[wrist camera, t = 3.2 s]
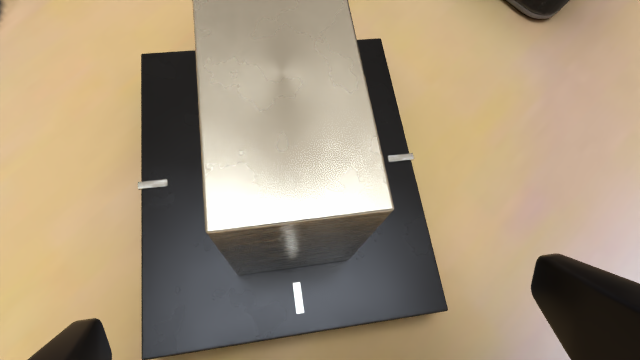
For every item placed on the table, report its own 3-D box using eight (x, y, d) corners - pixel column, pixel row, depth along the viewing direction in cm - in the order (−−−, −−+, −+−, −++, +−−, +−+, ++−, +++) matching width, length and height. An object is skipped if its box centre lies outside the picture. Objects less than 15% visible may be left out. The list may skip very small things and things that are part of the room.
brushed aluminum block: (349, 260, 20) (397, 207, 12) (236, 275, 19) (203, 231, 11) (318, 84, 23) (339, -52, 15) (222, 92, 22) (188, -47, 14)
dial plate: (432, 313, 22) (452, 310, 19) (155, 357, 20) (137, 361, 17) (374, 63, 27) (383, 35, 25) (152, 79, 25) (138, 51, 23)
